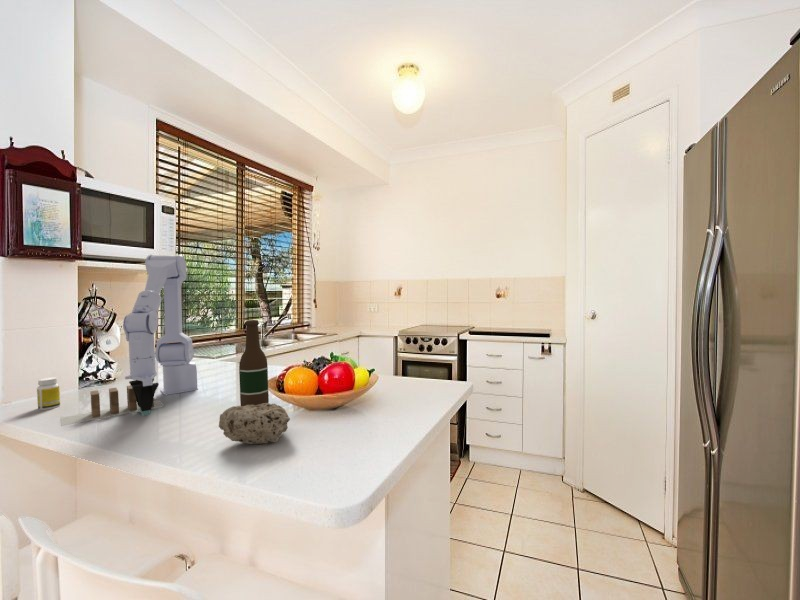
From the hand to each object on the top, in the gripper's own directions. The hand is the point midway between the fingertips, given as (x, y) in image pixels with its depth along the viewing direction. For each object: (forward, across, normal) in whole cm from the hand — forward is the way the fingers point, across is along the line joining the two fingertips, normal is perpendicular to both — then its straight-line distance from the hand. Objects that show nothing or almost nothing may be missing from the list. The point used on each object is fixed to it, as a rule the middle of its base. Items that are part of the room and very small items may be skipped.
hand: (144, 408), depth 105 cm
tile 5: (+1, 0, 0) cm, 1 cm away
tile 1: (+1, -7, +2) cm, 7 cm away
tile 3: (+1, -7, -6) cm, 9 cm away
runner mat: (+1, -7, -6) cm, 9 cm away
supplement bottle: (+2, -26, -20) cm, 33 cm away
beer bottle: (+2, +16, +24) cm, 28 cm away
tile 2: (+1, -7, -2) cm, 7 cm away
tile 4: (+1, -7, -10) cm, 12 cm away
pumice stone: (+2, +40, +14) cm, 43 cm away
